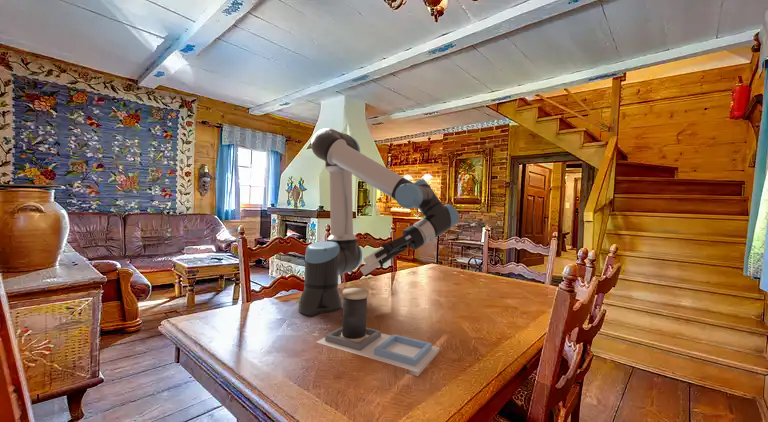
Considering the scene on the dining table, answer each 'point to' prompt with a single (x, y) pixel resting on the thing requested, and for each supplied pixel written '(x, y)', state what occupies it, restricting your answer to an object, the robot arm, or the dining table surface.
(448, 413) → the dining table surface
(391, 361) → the grey flat tray
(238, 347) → the dining table surface
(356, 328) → the cable spool
